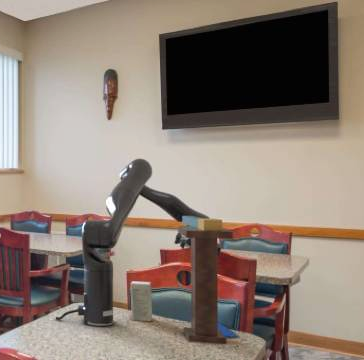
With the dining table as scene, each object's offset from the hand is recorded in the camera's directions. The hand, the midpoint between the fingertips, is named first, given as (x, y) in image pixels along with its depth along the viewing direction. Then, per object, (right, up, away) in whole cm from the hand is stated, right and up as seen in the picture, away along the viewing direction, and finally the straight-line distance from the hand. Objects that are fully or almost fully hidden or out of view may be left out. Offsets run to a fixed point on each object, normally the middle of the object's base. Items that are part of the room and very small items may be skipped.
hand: (197, 249), depth 160 cm
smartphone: (+2, -24, -8) cm, 26 cm away
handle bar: (-4, +8, -9) cm, 13 cm away
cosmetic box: (-17, -24, +4) cm, 29 cm away
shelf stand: (-5, -24, -16) cm, 29 cm away
